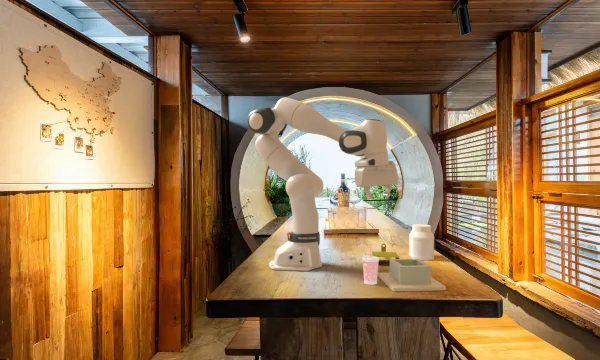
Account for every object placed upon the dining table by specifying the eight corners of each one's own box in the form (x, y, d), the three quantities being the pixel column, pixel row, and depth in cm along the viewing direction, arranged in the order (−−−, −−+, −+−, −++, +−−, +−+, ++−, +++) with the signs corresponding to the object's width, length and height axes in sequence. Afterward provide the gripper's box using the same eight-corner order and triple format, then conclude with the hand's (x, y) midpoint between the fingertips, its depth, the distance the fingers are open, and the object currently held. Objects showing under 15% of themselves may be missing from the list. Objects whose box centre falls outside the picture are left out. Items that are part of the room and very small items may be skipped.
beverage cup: (360, 280, 133) (360, 242, 132) (377, 280, 133) (377, 242, 132) (363, 285, 127) (363, 245, 126) (380, 285, 126) (381, 245, 126)
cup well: (393, 291, 120) (393, 269, 120) (377, 275, 138) (377, 257, 138) (445, 290, 121) (446, 268, 121) (423, 274, 139) (423, 256, 139)
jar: (407, 254, 174) (407, 223, 174) (427, 254, 174) (427, 223, 174) (414, 260, 162) (414, 227, 162) (436, 260, 162) (436, 227, 162)
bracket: (369, 250, 150) (366, 243, 165) (369, 268, 150) (366, 260, 165) (407, 251, 148) (401, 243, 163) (407, 270, 149) (400, 260, 164)
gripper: (388, 161, 147) (390, 195, 147) (351, 162, 135) (353, 199, 135) (401, 160, 141) (403, 195, 141) (363, 161, 130) (365, 199, 130)
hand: (378, 197), depth 138 cm, fingers open, 8 cm apart
